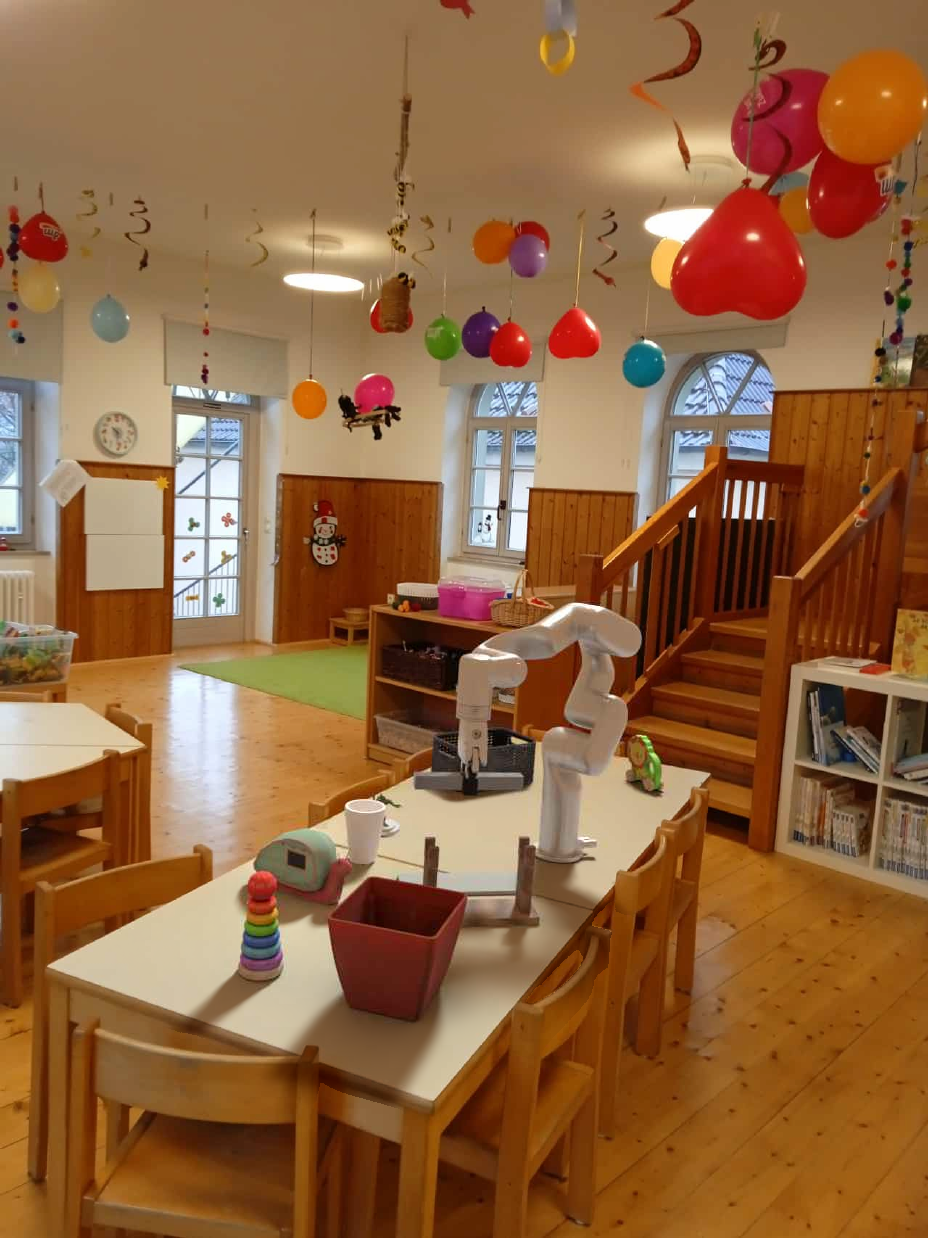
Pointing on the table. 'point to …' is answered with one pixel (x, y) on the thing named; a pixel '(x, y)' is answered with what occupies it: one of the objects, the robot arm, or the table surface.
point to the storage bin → (488, 754)
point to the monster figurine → (388, 824)
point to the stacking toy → (261, 931)
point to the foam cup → (364, 829)
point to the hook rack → (493, 909)
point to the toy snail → (305, 865)
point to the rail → (456, 781)
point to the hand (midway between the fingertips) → (468, 791)
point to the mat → (471, 882)
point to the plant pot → (395, 944)
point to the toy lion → (644, 763)
